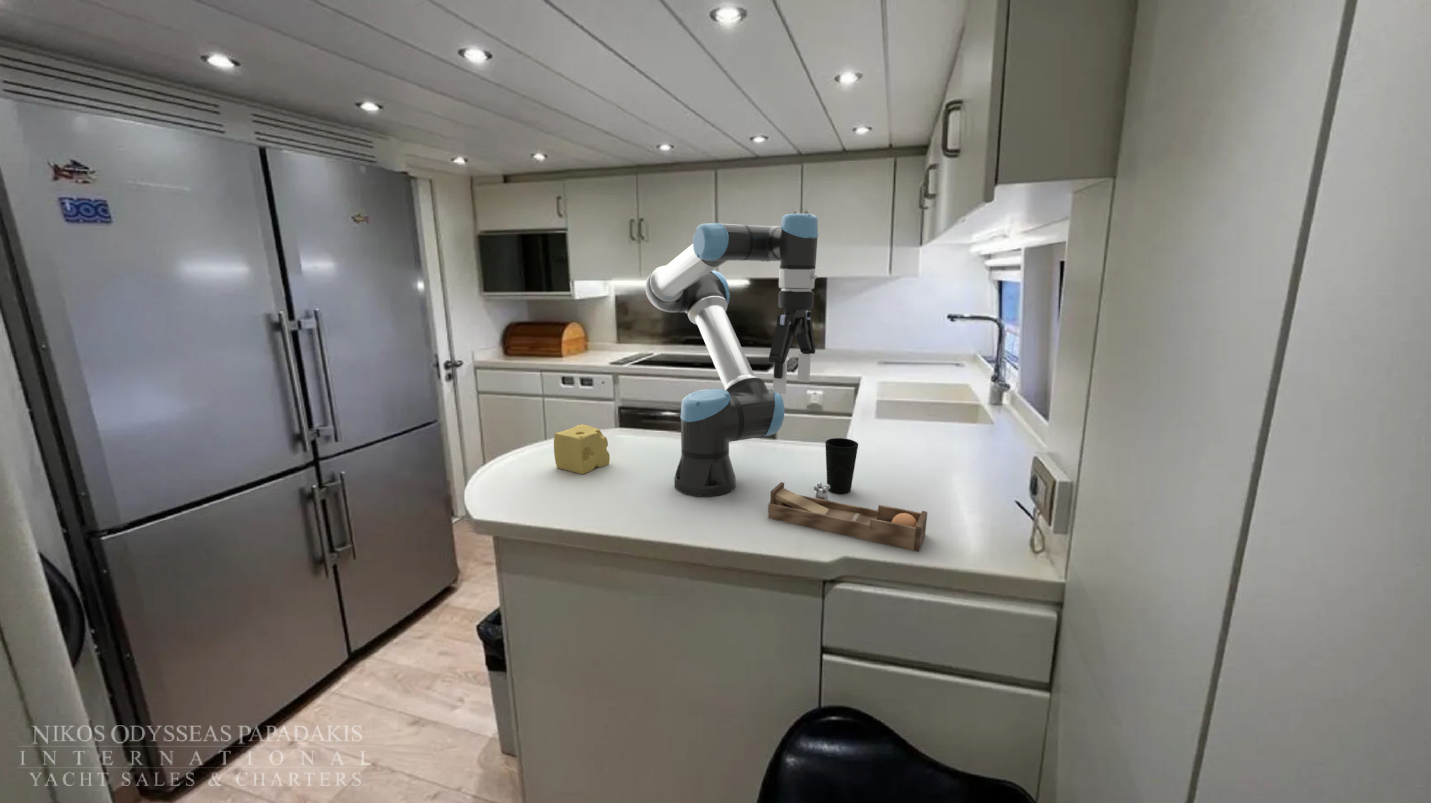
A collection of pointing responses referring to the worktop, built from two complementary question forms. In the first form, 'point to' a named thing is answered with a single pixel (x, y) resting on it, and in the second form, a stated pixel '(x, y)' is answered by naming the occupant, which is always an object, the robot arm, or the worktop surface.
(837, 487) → the cup
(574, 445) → the cheese
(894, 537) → the lane
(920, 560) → the worktop surface
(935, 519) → the worktop surface
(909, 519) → the ball
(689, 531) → the worktop surface
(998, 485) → the worktop surface
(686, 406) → the robot arm
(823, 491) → the silver knobbed handle
